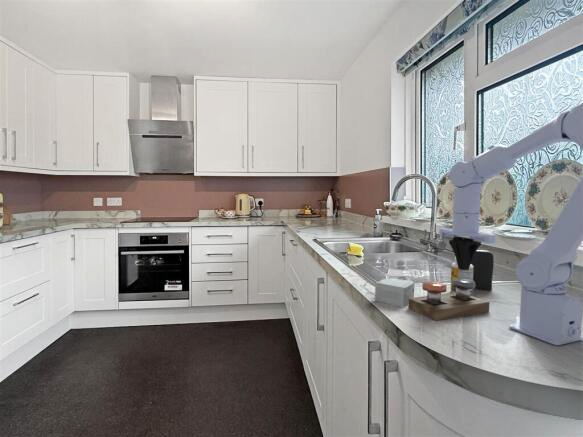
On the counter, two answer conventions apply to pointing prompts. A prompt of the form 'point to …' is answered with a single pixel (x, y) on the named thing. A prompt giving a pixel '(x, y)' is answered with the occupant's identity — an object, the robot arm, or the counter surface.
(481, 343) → the counter surface
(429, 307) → the walnut block
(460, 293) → the grey metal knob
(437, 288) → the copper knob
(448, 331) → the counter surface
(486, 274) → the battery charger
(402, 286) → the small box
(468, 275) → the supplement bottle
